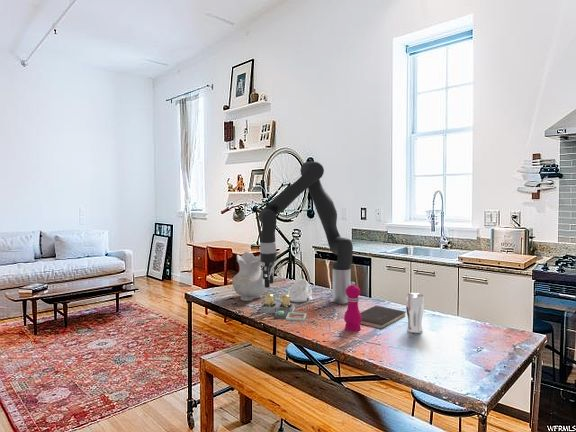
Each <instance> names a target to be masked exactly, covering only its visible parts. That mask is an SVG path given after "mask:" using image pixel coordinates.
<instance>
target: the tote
mask: <svg viewBox="0 0 576 432" xmlns="http://www.w3.org/2000/svg"><path fill="white" fill-rule="evenodd" d="M291 315H292V316H303V318H300V317H290V316H291ZM306 317H307V312H293V313H292V312H289V313H287V317H286V319H285V321H301V322H305V321H306V320H305V319H306Z"/></svg>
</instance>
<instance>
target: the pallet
mask: <svg viewBox="0 0 576 432" xmlns="http://www.w3.org/2000/svg"><path fill="white" fill-rule="evenodd" d="M273 303H274V302H273ZM296 308H297V307H295V304H294V303H290V308H283V307H282V303H281V302H280V303H278V302H275V303H274V307H265V302H263V303H261V305H260V307H259V311H258V313H268V314H275V313H276V312H278V311H284V312H287V314H288V313H289V312H292V313H295V309H296Z"/></svg>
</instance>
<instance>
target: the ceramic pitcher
mask: <svg viewBox="0 0 576 432" xmlns="http://www.w3.org/2000/svg"><path fill="white" fill-rule="evenodd" d="M236 262H237V263H238V266H239V271H238V272H237V273H236V274H235V275H234V276H233V278H232V283H231V284H232V288H233V290H234V291H235V292H236V293H237V295H240V300H241V301H242V302H245V301H246V302H252V301H253V300H254V299H258V298H262V295H263V294H264V293H266V291H267V289H268V288H265V280H264V279H263V266H265V263H264V262H261V259H260V254H258V256H254V254H253V252H249V251H245V252H243V254H242V255H240V254H239V253H238V254H236ZM261 267H262V269H261ZM266 277H267V275H266Z"/></svg>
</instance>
